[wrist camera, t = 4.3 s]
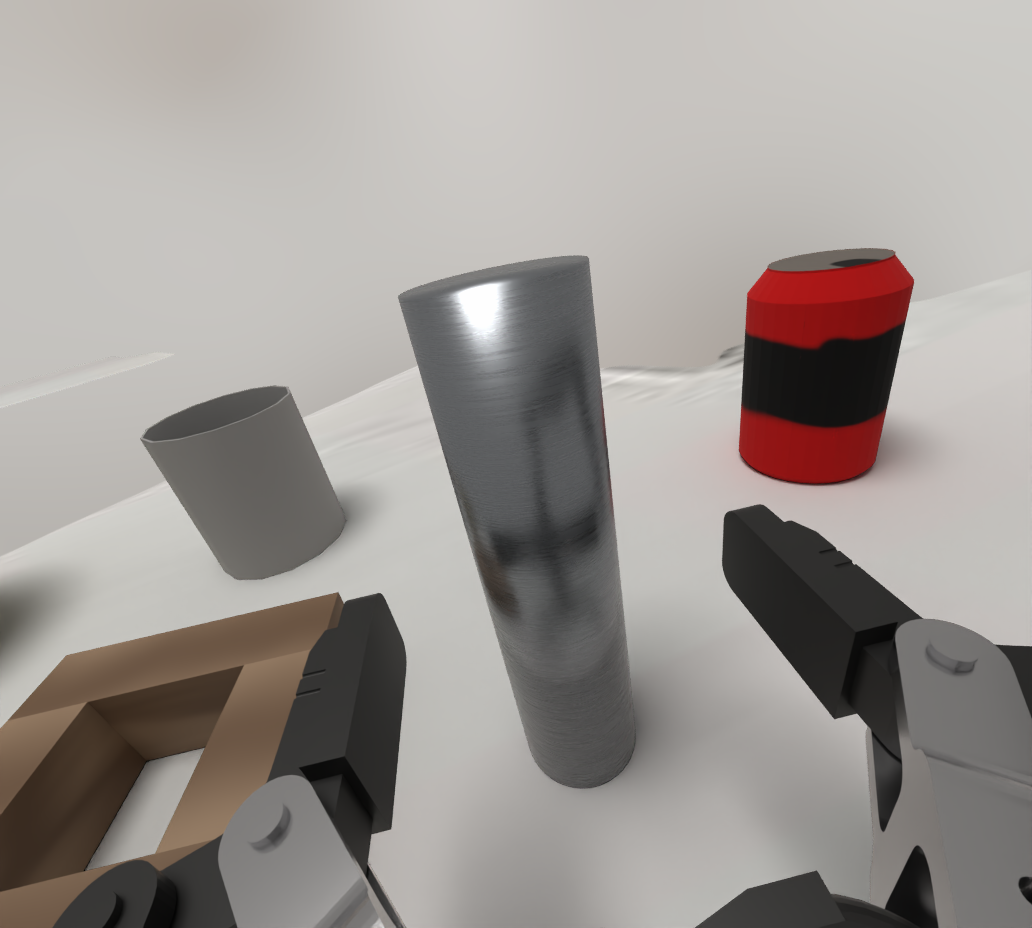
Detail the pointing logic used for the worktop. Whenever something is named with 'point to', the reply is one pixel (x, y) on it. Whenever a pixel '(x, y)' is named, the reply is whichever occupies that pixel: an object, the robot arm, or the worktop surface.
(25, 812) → the walnut bored block
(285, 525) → the cup
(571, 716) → the long steel pin
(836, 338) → the soda can
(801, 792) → the worktop surface
